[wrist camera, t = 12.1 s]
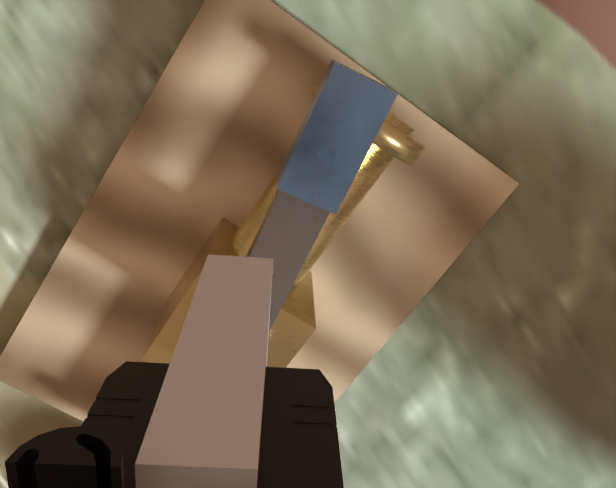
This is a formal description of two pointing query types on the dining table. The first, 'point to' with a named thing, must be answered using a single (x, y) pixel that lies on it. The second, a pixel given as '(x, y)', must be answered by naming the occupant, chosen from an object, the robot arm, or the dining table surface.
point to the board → (242, 212)
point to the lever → (319, 171)
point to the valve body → (300, 301)
